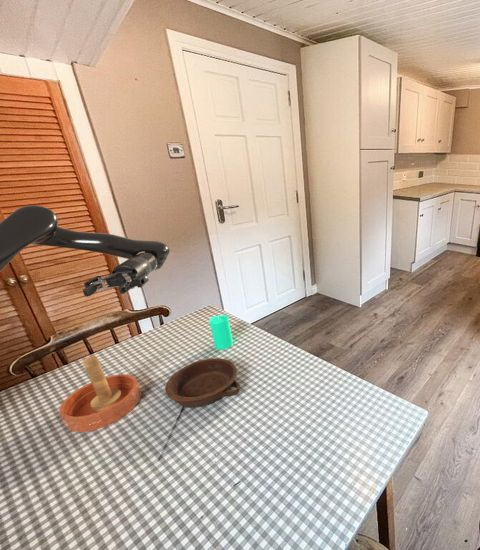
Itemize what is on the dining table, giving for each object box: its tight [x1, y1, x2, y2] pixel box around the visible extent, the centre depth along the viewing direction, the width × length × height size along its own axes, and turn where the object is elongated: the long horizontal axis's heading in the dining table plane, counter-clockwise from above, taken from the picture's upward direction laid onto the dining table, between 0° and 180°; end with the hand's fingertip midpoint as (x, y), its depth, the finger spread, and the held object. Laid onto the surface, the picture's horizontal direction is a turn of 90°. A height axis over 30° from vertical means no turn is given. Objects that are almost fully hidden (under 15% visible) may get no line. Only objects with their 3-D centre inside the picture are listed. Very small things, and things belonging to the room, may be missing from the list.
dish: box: [164, 357, 241, 409], centre depth 86 cm, size 18×22×5 cm
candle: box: [208, 314, 234, 350], centre depth 105 cm, size 6×6×12 cm
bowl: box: [58, 373, 143, 433], centre depth 80 cm, size 16×16×5 cm
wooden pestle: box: [82, 355, 123, 413], centre depth 79 cm, size 6×6×14 cm
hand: (103, 292), depth 83 cm, fingers open, 8 cm apart
